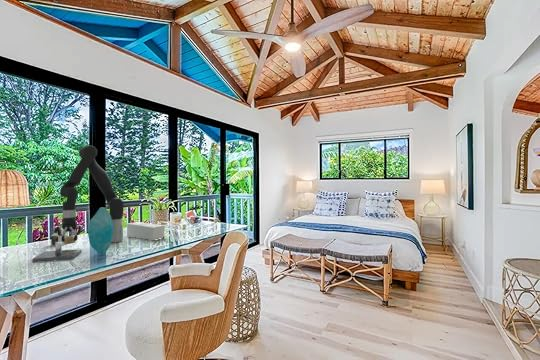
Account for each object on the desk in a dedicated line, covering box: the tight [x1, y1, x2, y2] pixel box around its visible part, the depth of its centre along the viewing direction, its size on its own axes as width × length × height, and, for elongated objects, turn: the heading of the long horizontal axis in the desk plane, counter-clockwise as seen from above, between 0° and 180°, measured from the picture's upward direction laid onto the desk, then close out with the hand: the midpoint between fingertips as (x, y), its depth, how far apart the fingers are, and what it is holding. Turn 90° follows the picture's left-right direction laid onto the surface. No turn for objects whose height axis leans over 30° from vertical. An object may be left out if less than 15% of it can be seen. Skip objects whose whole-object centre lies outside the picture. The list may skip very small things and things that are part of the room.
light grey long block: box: [126, 221, 166, 241], centre depth 229 cm, size 32×11×11 cm, turn 62°
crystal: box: [87, 207, 113, 256], centre depth 179 cm, size 12×14×30 cm
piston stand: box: [31, 242, 82, 263], centre depth 172 cm, size 20×16×9 cm
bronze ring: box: [64, 235, 76, 245], centre depth 189 cm, size 6×6×4 cm
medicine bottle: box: [50, 227, 69, 246], centre depth 203 cm, size 7×7×12 cm
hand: (69, 241), depth 189 cm, fingers closed on bronze ring, 6 cm apart
